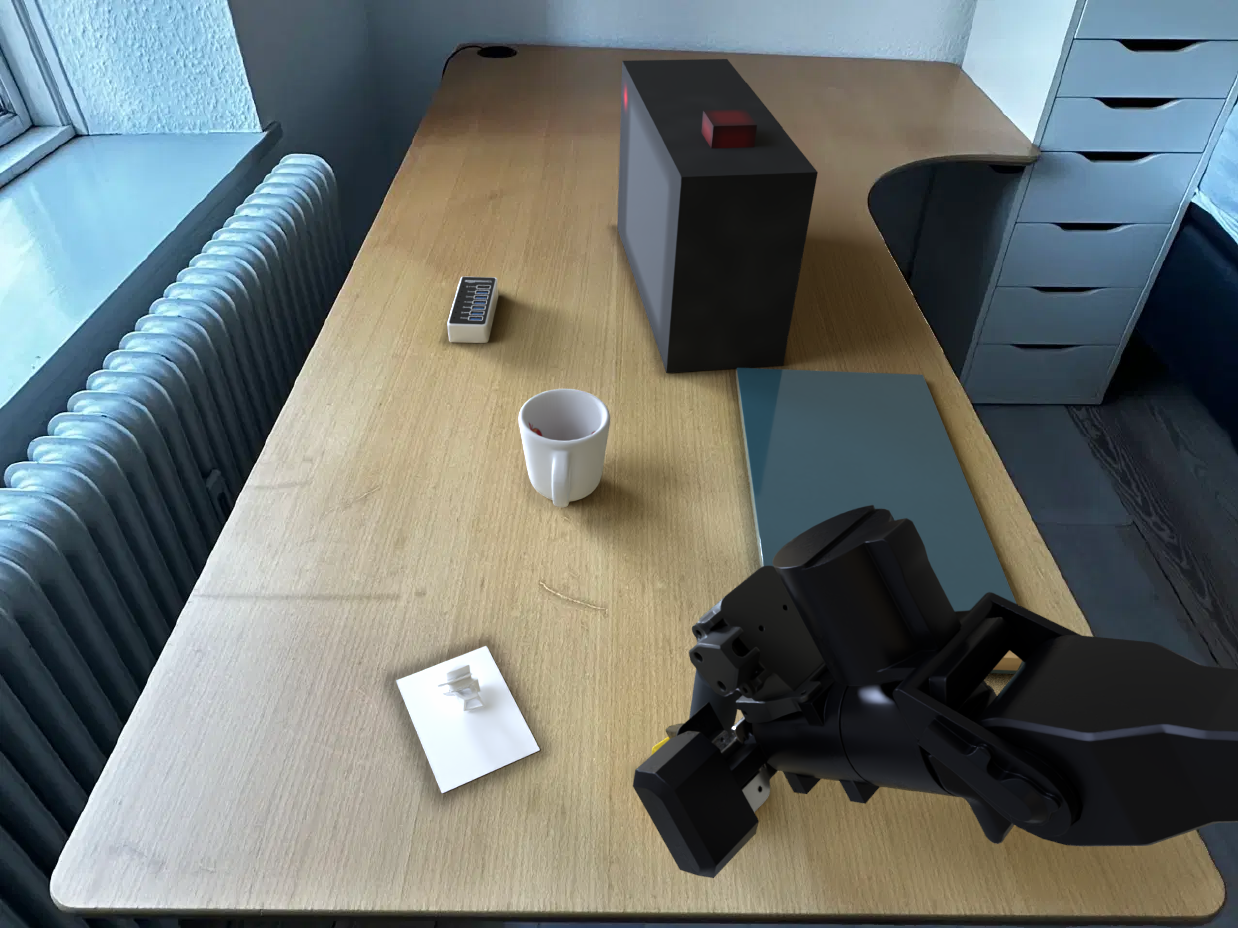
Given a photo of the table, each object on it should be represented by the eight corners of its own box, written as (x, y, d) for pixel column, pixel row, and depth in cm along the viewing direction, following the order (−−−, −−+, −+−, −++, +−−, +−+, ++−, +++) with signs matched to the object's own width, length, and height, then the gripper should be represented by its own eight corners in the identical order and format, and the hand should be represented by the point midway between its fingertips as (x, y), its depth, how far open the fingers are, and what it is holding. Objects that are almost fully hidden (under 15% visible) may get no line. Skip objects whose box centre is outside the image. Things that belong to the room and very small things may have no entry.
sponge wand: (754, 789, 60) (781, 677, 51) (697, 832, 57) (717, 721, 49) (704, 736, 63) (723, 622, 54) (649, 775, 60) (659, 662, 52)
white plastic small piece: (475, 680, 66) (472, 653, 64) (488, 707, 64) (485, 680, 62) (436, 695, 64) (431, 669, 62) (448, 723, 63) (444, 697, 61)
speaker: (725, 223, 125) (746, 40, 109) (802, 364, 98) (844, 148, 83) (617, 228, 122) (622, 41, 107) (666, 373, 96) (683, 153, 81)
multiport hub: (448, 342, 100) (446, 324, 98) (462, 292, 108) (460, 275, 107) (487, 343, 100) (486, 325, 98) (499, 293, 108) (497, 276, 107)
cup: (606, 536, 77) (608, 467, 72) (514, 533, 77) (510, 464, 72) (609, 456, 85) (611, 388, 80) (526, 453, 85) (522, 386, 80)
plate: (1037, 675, 67) (1042, 665, 67) (773, 665, 67) (775, 655, 67) (920, 383, 96) (923, 374, 95) (735, 376, 96) (736, 367, 95)
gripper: (910, 492, 48) (729, 531, 61) (673, 695, 38) (517, 690, 51) (1001, 670, 49) (804, 671, 62) (795, 915, 38) (611, 854, 52)
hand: (694, 713), depth 56 cm, fingers open, 4 cm apart
